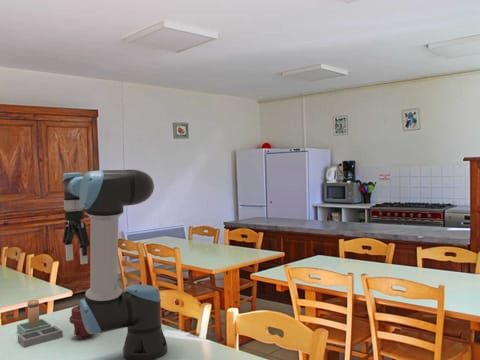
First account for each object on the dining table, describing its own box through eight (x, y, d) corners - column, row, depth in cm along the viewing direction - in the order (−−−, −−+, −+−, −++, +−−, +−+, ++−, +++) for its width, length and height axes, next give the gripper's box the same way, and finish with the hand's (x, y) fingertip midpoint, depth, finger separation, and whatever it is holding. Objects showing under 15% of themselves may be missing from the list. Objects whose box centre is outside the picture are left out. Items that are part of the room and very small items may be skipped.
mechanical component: (102, 332, 179) (89, 342, 169) (79, 331, 181) (65, 341, 171) (101, 301, 178) (87, 309, 169) (78, 301, 180) (63, 308, 171)
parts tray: (51, 331, 182) (51, 324, 182) (25, 338, 175) (24, 330, 175) (42, 325, 189) (42, 318, 189) (17, 332, 182) (17, 324, 182)
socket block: (62, 336, 175) (62, 330, 175) (24, 347, 166) (24, 340, 166) (55, 331, 181) (55, 325, 181) (17, 341, 172) (17, 335, 172)
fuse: (41, 330, 182) (40, 301, 182) (30, 333, 179) (29, 303, 179) (37, 328, 185) (36, 299, 185) (27, 330, 182) (26, 301, 182)
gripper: (97, 210, 178) (99, 263, 178) (70, 208, 196) (72, 257, 196) (78, 211, 173) (81, 267, 173) (52, 210, 191) (55, 260, 191)
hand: (76, 262), depth 185 cm, fingers open, 13 cm apart
